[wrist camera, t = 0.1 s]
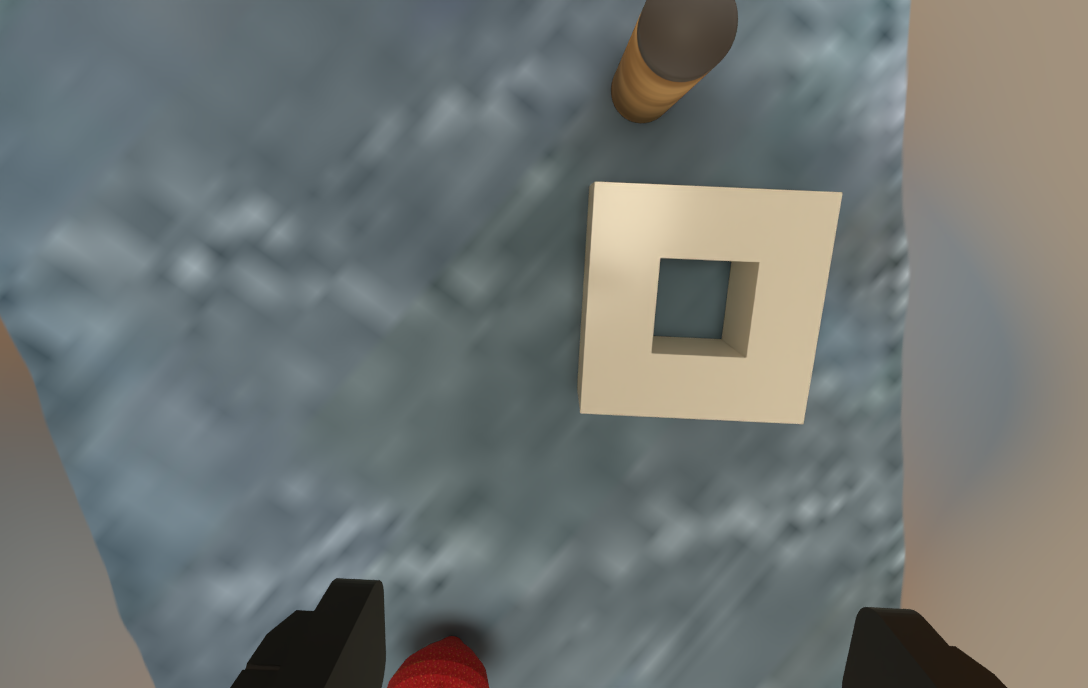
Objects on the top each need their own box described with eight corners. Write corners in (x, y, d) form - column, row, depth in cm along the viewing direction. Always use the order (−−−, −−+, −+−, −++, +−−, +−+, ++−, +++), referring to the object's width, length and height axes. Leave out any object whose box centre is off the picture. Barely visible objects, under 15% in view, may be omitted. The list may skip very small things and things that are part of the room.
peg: (613, 53, 33) (644, -34, 22) (677, 55, 33) (743, -30, 22) (608, 121, 34) (636, 74, 23) (671, 124, 34) (731, 78, 23)
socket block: (589, 186, 35) (594, 181, 30) (802, 195, 35) (842, 192, 30) (577, 388, 39) (580, 413, 34) (771, 397, 38) (803, 423, 34)
